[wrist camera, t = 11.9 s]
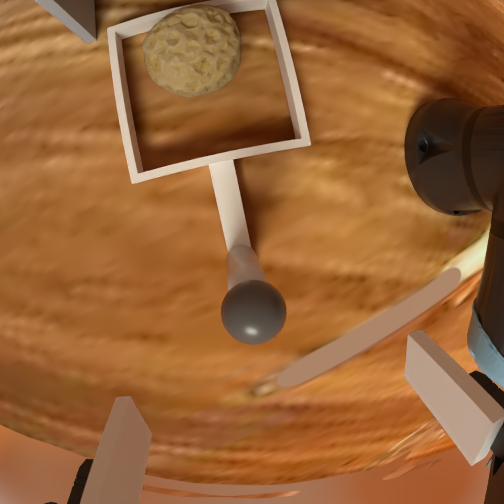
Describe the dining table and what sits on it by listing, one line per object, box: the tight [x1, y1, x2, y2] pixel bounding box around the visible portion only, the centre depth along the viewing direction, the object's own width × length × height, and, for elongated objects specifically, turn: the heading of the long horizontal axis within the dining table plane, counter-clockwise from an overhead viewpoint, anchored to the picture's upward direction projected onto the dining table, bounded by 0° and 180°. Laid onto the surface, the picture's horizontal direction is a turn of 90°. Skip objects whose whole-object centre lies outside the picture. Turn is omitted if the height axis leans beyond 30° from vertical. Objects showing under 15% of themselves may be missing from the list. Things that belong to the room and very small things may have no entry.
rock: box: [142, 4, 241, 97], centre depth 25 cm, size 10×11×10 cm
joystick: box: [107, 0, 311, 345], centre depth 23 cm, size 30×18×15 cm, turn 11°
